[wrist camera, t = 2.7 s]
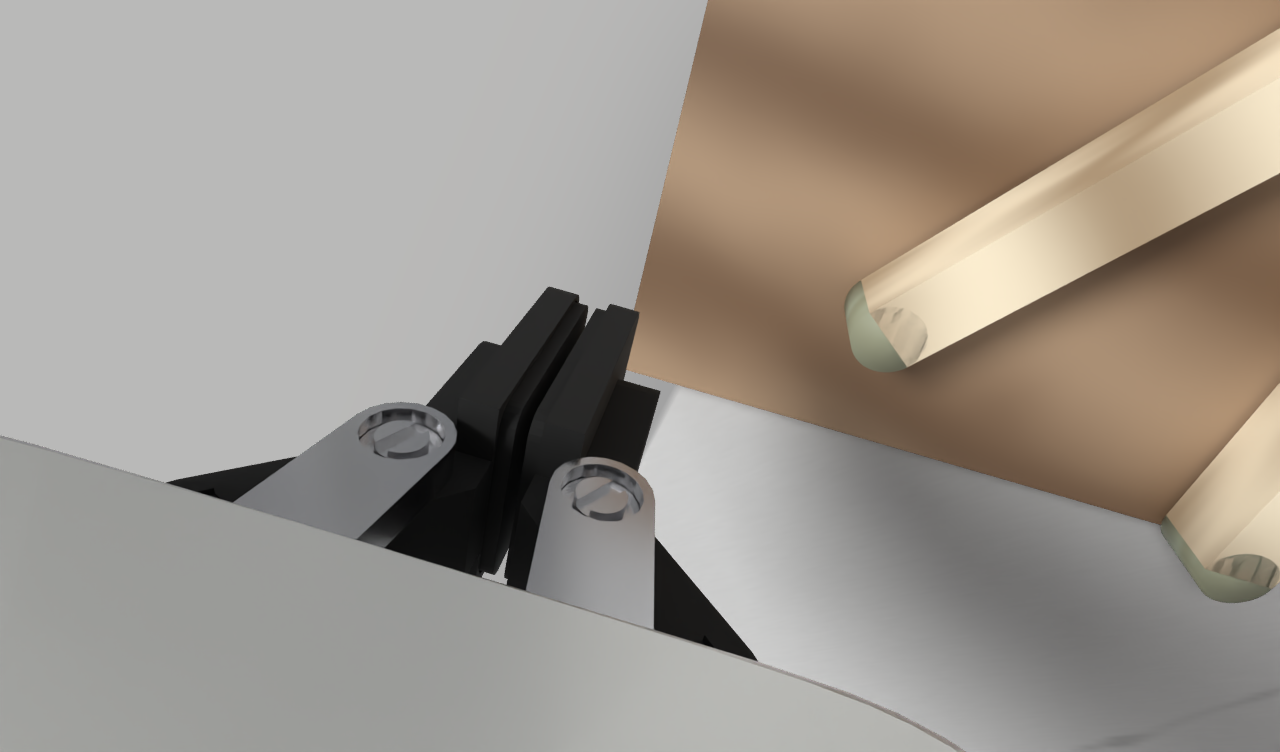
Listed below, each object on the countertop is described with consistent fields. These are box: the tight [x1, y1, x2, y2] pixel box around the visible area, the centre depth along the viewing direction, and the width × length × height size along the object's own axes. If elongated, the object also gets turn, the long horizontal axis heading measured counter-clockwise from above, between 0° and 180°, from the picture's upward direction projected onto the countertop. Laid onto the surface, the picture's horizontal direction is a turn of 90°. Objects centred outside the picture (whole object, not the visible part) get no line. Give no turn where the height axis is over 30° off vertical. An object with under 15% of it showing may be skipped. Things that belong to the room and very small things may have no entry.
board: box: [626, 0, 1280, 525], centre depth 17 cm, size 17×24×2 cm
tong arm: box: [844, 28, 1280, 372], centre depth 15 cm, size 17×4×2 cm, turn 129°
